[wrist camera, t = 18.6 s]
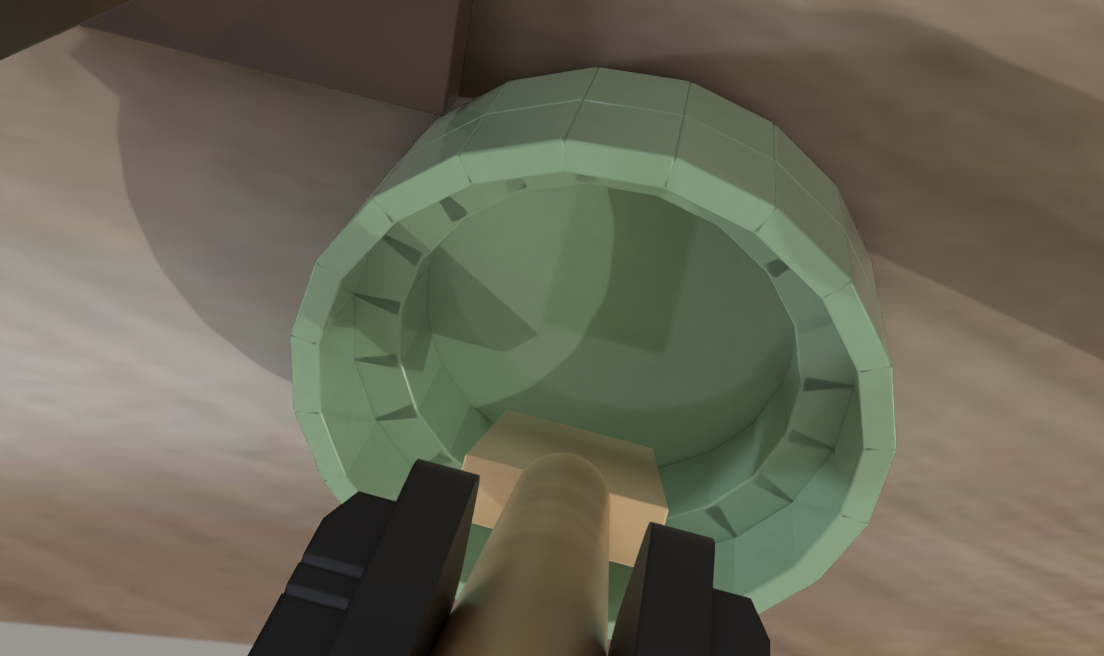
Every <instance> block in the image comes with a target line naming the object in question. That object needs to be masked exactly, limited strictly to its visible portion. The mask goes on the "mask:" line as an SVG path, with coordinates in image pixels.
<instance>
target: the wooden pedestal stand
mask: <svg viewBox="0 0 1104 656" xmlns="http://www.w3.org/2000/svg"><path fill="white" fill-rule="evenodd" d="M471 7H472V0H0V60H2V59H4V58H7V57H9V56H11V55H13V54H15V53H18V52H20V51H22V50H24V49H27V48H29V47H31V46H33V45H36V44H38V43H40V42H42V41H44V40H47V39H49V38H51V37H53V36H56V35H58V34H60V33H62V32H64V31H67V30H69V29H71V28H73V27H76V26H78V25H81V26H85V27H89V28H93V29H97V30H101V31H105V32H109V33H113V34H117V35H121V36H125V37H129V38H133V39H137V40H141V41H145V42H149V43H153V44H157V45H161V46H165V47H169V48H173V49H177V50H181V51H185V52H189V53H193V54H197V55H201V56H205V57H209V58H213V59H217V60H221V61H225V62H229V63H233V64H237V65H241V66H245V67H249V68H253V69H257V70H261V71H265V72H269V73H273V74H277V75H281V76H285V77H288V78H292V79H296V80H300V81H304V82H308V83H312V84H316V85H320V86H324V87H328V88H332V89H336V90H340V91H344V92H348V93H352V94H356V95H360V96H364V97H368V98H372V99H376V100H380V101H384V102H388V103H392V104H396V105H400V106H404V107H408V108H412V109H416V110H420V111H424V112H428V113H432V114H436V115H440V116H445V115H446V114H447V112H448V111H449V110H450V109H451V107H452V106H453V105H454V104H455V102H456V101H457V100H458V98H459V91H460V84H461V77H462V70H463V63H464V56H465V49H466V42H467V35H468V28H469V21H470V14H471Z"/></svg>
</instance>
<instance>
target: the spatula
mask: <svg viewBox="0 0 1104 656" xmlns="http://www.w3.org/2000/svg"><path fill="white" fill-rule="evenodd" d="M462 470H463V471H467V472H471V473H474V474H478V475H480V482H479V488H478V493H477V498H476V503H475V508H474V513H473V518H472V523H473V524H477V525H481V526H484V527H488V528H492V529H493V530H492V532H491V534H490V536H489V538H488V540H487V542H486V544H485V546H484V548H483V550H482V552H481V554H480V556H479V558H478V560H477V562H476V564H475V566H474V568H473V570H472V572H471V573H470V575H469V577H468V579H467V581H466V583H465V585H464V587H463V589H462V591H461V593H460V595H459V597H458V599H457V601H456V603H455V605H454V607H453V609H452V611H451V613H450V616H449V618H448V620H447V622H446V624H445V626H444V628H443V630H442V632H441V634H440V636H439V638H438V639H437V641H436V643H435V645H434V647H433V649H432V651H431V653H430V655H429V656H607V647H608V587H609V561H612V562H616V563H620V564H623V565H627V566H631V567H634V564H635V561H636V558H637V555H638V552H639V549H640V546H641V543H642V540H643V537H644V534H645V532H646V529H647V526H648V524H649V523H650V522H655V523H658V524H662V525H665V522H666V518H667V514H668V511H669V510H668V506H667V502H666V498H665V494H664V490H663V486H662V482H661V478H660V474H659V470H658V466H657V462H656V458H655V454H654V450H653V448H650V447H646V446H642V445H639V444H635V443H631V442H627V441H624V440H620V439H616V438H612V437H609V436H605V435H601V434H597V433H594V432H590V431H586V430H582V429H579V428H575V427H571V426H567V425H564V424H560V423H556V422H552V421H549V420H545V419H541V418H537V417H534V416H530V415H526V414H522V413H519V412H515V411H511V410H506V411H505V412H504V413H503V414H502V415H501V417H500V418H499V419H498V420H497V421H496V422H495V423H494V424H493V425H492V426H491V427H490V429H489V430H488V431H487V432H486V433H485V434H484V435H483V436H482V437H481V438H480V440H479V441H478V442H477V443H476V444H475V445H474V446H473V447H472V448H471V449H470V451H469V452H468V453H467V454H466V455H465V458H464V462H463V466H462Z"/></svg>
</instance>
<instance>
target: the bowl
mask: <svg viewBox="0 0 1104 656" xmlns="http://www.w3.org/2000/svg"><path fill="white" fill-rule="evenodd" d="M290 344H291V364H292V384H293V405H294V410H295V414H296V416H297V419H298V421H299V423H300V426H301V428H302V431H303V433H304V436H305V438H306V441H307V443H308V445H309V448H310V450H311V453H312V455H313V458H314V460H315V463H316V465H317V468H318V470H319V472H320V475H321V477H322V479H323V480H324V483H325V484H326V486H327V487H328V488H329V489H330V491H331V492H332V493H333V494H334V496H335V497H336V498H337V499H338V501H339V502H340V503H341V504H342V503H344V502H345V501H346V500H348V499H349V498H350V497H352V496H353V495H354V494H356V493H357V492H358V491H360V492H364V493H367V494H371V495H375V496H379V497H382V498H386V499H390V500H393V501H396V500H397V498H398V496H399V494H400V491H401V489H402V487H403V485H404V483H405V481H406V479H407V477H408V474H409V472H410V470H411V468H412V466H413V464H414V463H415V461H416V460H417V459H422V460H426V461H430V462H433V463H437V464H441V465H445V466H448V467H452V468H456V469H459V470H462V466H463V462H464V458H465V455H466V454H467V453H468V452H469V451H470V449H471V448H472V447H473V446H474V445H475V444H476V443H477V442H478V441H479V440H480V438H481V437H482V436H483V435H484V434H485V433H486V432H487V431H488V430H489V429H490V427H491V426H492V425H493V424H494V423H495V422H496V421H497V420H498V419H499V418H500V417H501V415H502V414H503V413H504V412H505V411H506V410H511V411H515V412H519V413H522V414H526V415H530V416H534V417H537V418H541V419H545V420H549V421H552V422H556V423H560V424H564V425H567V426H571V427H575V428H579V429H582V430H586V431H590V432H594V433H597V434H601V435H605V436H609V437H612V438H616V439H620V440H624V441H627V442H631V443H635V444H639V445H642V446H646V447H650V448H653V450H654V454H655V458H656V462H657V466H658V470H659V474H660V478H661V482H662V486H663V490H664V494H665V498H666V502H667V506H668V510H669V511H668V514H667V518H666V522H665V525H666V526H669V527H673V528H677V529H680V530H684V531H688V532H692V533H695V534H699V535H703V536H706V537H710V538H713V539H714V541H715V560H714V577H713V588H715V589H719V590H722V591H726V592H730V593H733V594H737V595H741V596H744V597H748V598H751V600H752V602H753V604H754V606H755V609H756V611H757V613H758V614H760V613H762V612H763V611H765V610H767V609H769V608H770V607H772V606H774V605H776V604H777V603H779V602H781V601H783V600H785V599H786V598H788V597H790V596H792V595H793V594H795V593H797V592H799V591H800V590H802V589H804V588H806V587H807V586H809V585H811V584H813V583H814V582H815V581H816V580H819V578H820V577H821V576H822V575H823V574H824V573H825V572H826V571H827V570H828V568H829V567H830V566H831V565H832V564H833V563H834V562H835V561H836V560H837V558H838V557H839V556H840V555H841V554H842V553H843V552H844V551H845V550H846V548H847V547H848V546H849V545H850V544H851V543H852V542H853V541H854V540H855V538H856V537H857V536H858V535H859V534H860V533H861V532H862V531H863V529H864V528H865V527H866V526H867V525H868V522H869V521H870V519H871V517H872V514H873V511H874V509H875V506H876V503H877V500H878V498H879V495H880V492H881V490H882V487H883V484H884V482H885V479H886V476H887V474H888V471H889V468H890V465H891V463H892V460H893V457H894V455H895V452H896V448H897V442H896V422H895V402H894V382H893V366H892V361H891V356H890V351H889V346H888V341H887V336H886V331H885V326H884V321H883V316H882V311H881V307H880V302H879V297H878V292H877V287H876V282H875V277H874V272H873V267H872V263H871V259H870V257H869V254H868V252H867V250H866V248H865V246H864V244H863V241H862V239H861V237H860V235H859V233H858V231H857V228H856V226H855V224H854V222H853V220H852V218H851V215H850V213H849V211H848V209H847V207H846V205H845V202H844V200H843V198H842V196H841V194H840V192H839V190H838V189H837V188H836V185H835V184H834V183H833V182H832V181H831V180H830V179H829V178H828V177H827V176H826V175H825V174H824V173H823V172H822V171H821V170H820V169H819V168H818V167H817V166H816V165H815V164H814V163H813V162H812V161H811V160H810V159H809V158H808V157H807V156H806V155H805V154H804V153H803V152H802V151H801V150H800V149H799V148H798V147H797V146H796V145H795V144H794V143H793V142H792V141H791V140H790V139H789V138H788V137H787V136H786V134H785V133H784V132H783V131H782V130H781V129H780V128H779V127H778V126H776V125H773V123H772V122H770V121H768V120H766V119H764V118H762V117H760V116H758V115H756V114H754V113H752V112H750V111H748V110H746V109H744V108H742V107H741V106H739V105H737V104H735V103H733V102H731V101H729V100H727V99H725V98H723V97H721V96H719V95H717V94H715V93H713V92H711V91H709V90H707V89H705V88H703V87H701V86H699V85H697V84H695V83H690V82H689V81H684V80H678V79H672V78H665V77H659V76H652V75H646V74H640V73H633V72H627V71H620V70H614V69H608V68H601V67H600V68H597V67H593V68H587V69H581V70H574V71H568V72H562V73H556V74H549V75H543V76H537V77H531V78H525V79H518V80H512V81H510V82H506V83H504V84H502V85H500V86H498V87H496V88H495V89H493V90H491V91H489V92H487V93H485V94H483V95H482V96H480V97H478V98H476V99H474V100H472V101H470V102H468V103H467V104H465V105H463V106H461V107H459V108H457V109H455V110H453V111H452V112H450V113H448V114H446V115H445V116H442V117H440V118H438V119H437V120H436V121H434V122H433V123H432V124H431V125H430V126H429V128H428V129H427V130H426V131H425V132H424V133H423V134H422V135H421V137H420V138H419V139H418V140H417V141H416V142H415V143H414V144H413V146H412V147H411V148H410V149H409V150H408V151H407V152H406V153H405V155H404V156H403V157H402V158H401V159H400V160H399V161H398V163H397V164H396V165H395V166H394V167H393V168H392V169H391V170H390V172H389V173H388V174H387V175H386V176H385V177H384V178H383V180H382V181H381V182H380V183H379V185H378V186H377V187H376V188H375V189H374V191H373V192H372V193H371V194H370V195H369V197H368V198H367V199H366V200H365V202H364V203H363V204H362V205H361V206H360V208H359V209H358V210H357V211H356V212H355V214H354V215H353V216H352V217H351V219H350V220H349V221H348V222H347V223H346V225H345V226H344V227H343V228H342V229H341V231H340V232H339V233H338V234H337V236H336V237H335V238H334V239H333V240H332V242H331V243H330V244H329V245H328V246H327V248H326V249H325V250H324V251H323V253H322V254H321V255H320V256H319V257H318V259H317V261H316V263H315V265H314V268H313V271H312V274H311V276H310V279H309V282H308V285H307V288H306V291H305V294H304V297H303V300H302V302H301V305H300V308H299V311H298V314H297V317H296V320H295V323H294V326H293V328H292V331H291V336H290ZM492 530H493V529H492V528H488V527H484V526H481V525H477V524H473V523H471V528H470V533H469V538H468V544H467V549H466V554H465V559H464V564H463V569H462V573H461V577H460V581H459V585H458V589H457V593H456V596H455V599H458V597H459V595H460V593H461V591H462V589H463V587H464V585H465V583H466V581H467V579H468V577H469V575H470V573H471V572H472V570H473V568H474V566H475V564H476V562H477V560H478V558H479V556H480V554H481V552H482V550H483V548H484V546H485V544H486V542H487V540H488V538H489V536H490V534H491V532H492ZM632 570H633V567H631V566H627V565H623V564H620V563H616V562H612V561H609V587H608V640H611V638H612V634H613V630H614V626H615V623H616V619H617V616H618V612H619V609H620V606H621V603H622V600H623V597H624V594H625V591H626V588H627V585H628V582H629V579H630V576H631V573H632Z"/></svg>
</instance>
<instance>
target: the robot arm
mask: <svg viewBox="0 0 1104 656" xmlns="http://www.w3.org/2000/svg"><path fill="white" fill-rule="evenodd" d="M479 482H480V475H478V474H474V473H471V472H467V471H463V470H459V469H456V468H452V467H448V466H445V465H441V464H437V463H433V462H430V461H426V460H422V459H417V460H416V461H415V463H414V464H413V466H412V468H411V470H410V472H409V474H408V477H407V479H406V481H405V483H404V485H403V487H402V489H401V491H400V494H399V496H398V498H397V500H396V501H393V500H390V499H386V498H382V497H379V496H375V495H371V494H367V493H364V492H360V491H358V492H357V493H356V494H354V495H353V496H352V497H350V498H349V499H348V500H346V501H345V502H344V503H342V504H341V505H340V506H338V507H337V508H336V509H335V510H333V511H332V512H331V513H329V514H328V515H327V516H325V517H324V518H323V519H322V521H321V523H320V525H319V527H318V529H317V530H316V532H315V534H314V536H313V538H312V539H311V541H310V543H309V545H308V547H307V549H306V550H305V552H304V554H303V557H302V561H301V563H300V562H299V563H298V565H297V567H296V569H295V570H294V572H293V574H292V576H291V578H290V579H289V581H288V583H287V585H286V589H285V592H284V594H281V596H280V598H279V600H278V601H277V603H276V605H275V607H274V609H273V610H272V612H271V614H270V616H269V618H268V620H267V621H266V623H265V625H264V627H263V629H262V630H261V632H260V634H259V636H258V638H257V640H256V641H255V643H254V645H253V647H252V649H251V651H250V652H249V654H248V656H429V655H430V653H431V651H432V649H433V647H434V645H435V643H436V641H437V639H438V638H439V636H440V634H441V632H442V630H443V628H444V626H445V624H446V622H447V620H448V618H449V616H450V613H451V610H452V607H453V603H454V600H455V596H456V593H457V589H458V585H459V581H460V577H461V573H462V569H463V564H464V559H465V554H466V549H467V544H468V538H469V533H470V528H471V523H472V518H473V513H474V508H475V503H476V498H477V493H478V488H479ZM714 560H715V541H714V539H713V538H710V537H706V536H703V535H699V534H695V533H692V532H688V531H684V530H680V529H677V528H673V527H669V526H666V525H662V524H658V523H655V522H650V523H649V524H648V526H647V529H646V532H645V534H644V537H643V540H642V543H641V546H640V549H639V552H638V555H637V558H636V561H635V564H634V567H633V570H632V573H631V576H630V579H629V582H628V585H627V588H626V591H625V594H624V597H623V600H622V603H621V606H620V609H619V612H618V616H617V619H616V623H615V626H614V630H613V634H612V638H611V643H610V647H609V652H608V656H770V640H769V638H768V635H767V633H766V631H765V629H764V626H763V624H762V622H761V620H760V617H759V615H758V613H757V611H756V609H755V606H754V604H753V602H752V600H751V598H748V597H744V596H741V595H737V594H733V593H730V592H726V591H722V590H719V589H715V588H713V577H714Z"/></svg>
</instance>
